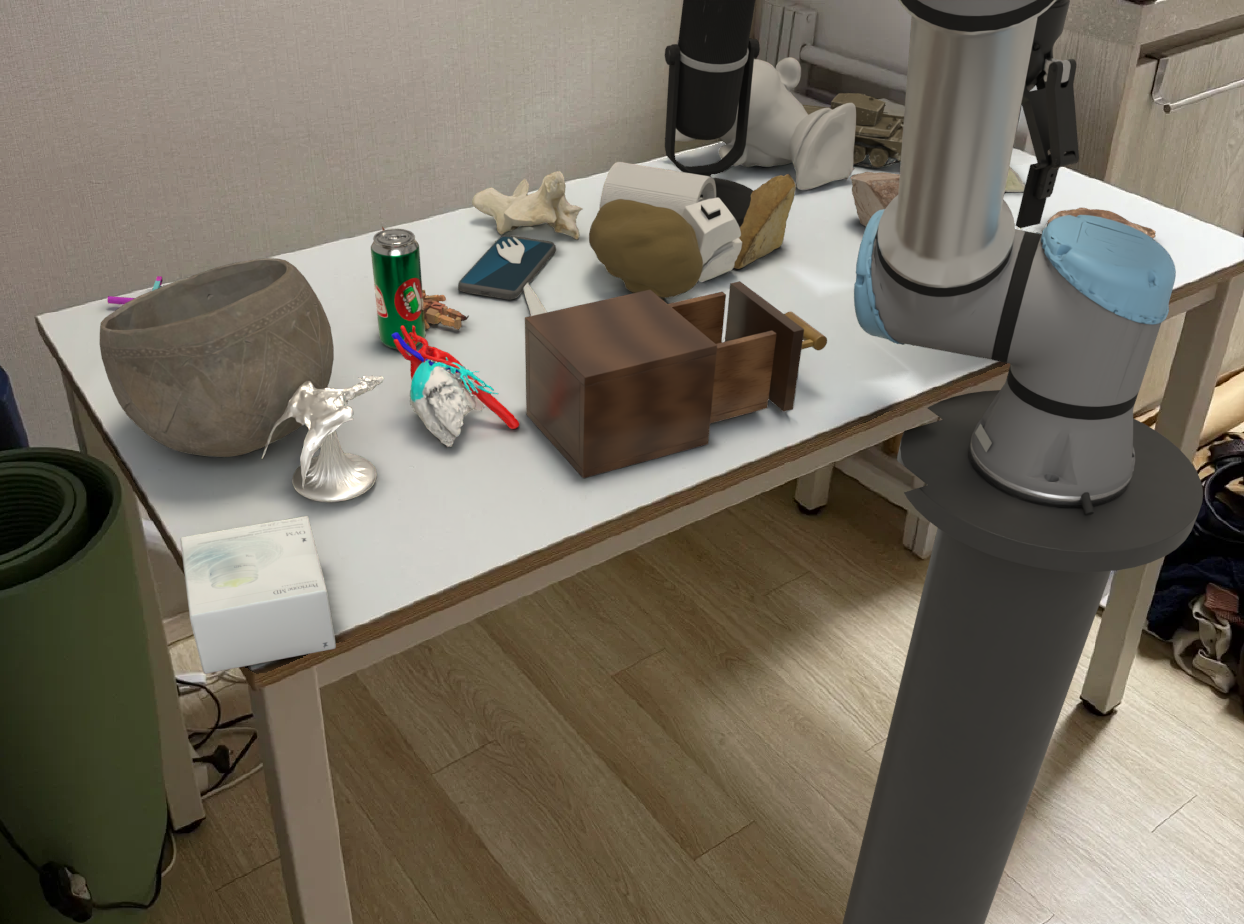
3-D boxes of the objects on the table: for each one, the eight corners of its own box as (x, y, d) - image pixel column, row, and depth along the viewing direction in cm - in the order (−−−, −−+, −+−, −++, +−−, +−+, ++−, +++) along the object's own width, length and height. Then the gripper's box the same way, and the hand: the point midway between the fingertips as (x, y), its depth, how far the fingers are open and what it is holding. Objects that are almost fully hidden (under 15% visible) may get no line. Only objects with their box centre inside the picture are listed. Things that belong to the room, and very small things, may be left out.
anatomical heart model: (463, 479, 132) (352, 380, 128) (513, 421, 133) (404, 321, 129) (489, 471, 119) (367, 361, 116) (543, 407, 120) (424, 296, 117)
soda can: (380, 330, 142) (370, 227, 134) (425, 329, 142) (418, 225, 134) (379, 352, 138) (368, 247, 130) (426, 351, 138) (418, 246, 130)
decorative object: (609, 215, 156) (592, 139, 157) (513, 219, 151) (496, 141, 152) (573, 260, 167) (557, 189, 168) (483, 265, 163) (467, 192, 164)
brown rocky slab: (1129, 269, 155) (1138, 241, 153) (1029, 243, 161) (1036, 216, 159) (1158, 238, 162) (1167, 211, 160) (1061, 214, 168) (1068, 187, 166)
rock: (744, 264, 150) (816, 238, 153) (720, 193, 149) (792, 169, 152) (710, 284, 161) (777, 260, 163) (687, 218, 160) (755, 195, 162)
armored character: (449, 349, 141) (375, 324, 144) (477, 320, 145) (405, 296, 148) (444, 253, 132) (366, 228, 135) (475, 225, 136) (398, 202, 139)
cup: (593, 212, 154) (687, 228, 151) (617, 146, 156) (710, 161, 152) (609, 250, 163) (698, 267, 159) (631, 188, 164) (719, 203, 161)
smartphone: (558, 249, 158) (558, 242, 158) (515, 301, 147) (515, 294, 147) (501, 240, 160) (501, 233, 160) (455, 291, 149) (454, 284, 149)
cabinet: (645, 384, 133) (650, 289, 126) (708, 444, 125) (717, 345, 118) (526, 414, 129) (524, 316, 122) (583, 478, 120) (584, 377, 113)
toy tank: (779, 130, 192) (786, 60, 186) (929, 151, 184) (941, 79, 178) (758, 151, 185) (765, 80, 179) (913, 174, 177) (925, 101, 171)
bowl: (261, 485, 110) (195, 319, 104) (105, 487, 122) (36, 338, 115) (398, 390, 125) (348, 240, 118) (248, 400, 136) (194, 263, 129)
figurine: (263, 488, 118) (247, 398, 112) (367, 440, 124) (357, 353, 118) (311, 524, 114) (297, 433, 108) (417, 473, 120) (409, 384, 114)
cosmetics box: (307, 510, 104) (328, 590, 97) (317, 571, 109) (338, 651, 101) (177, 533, 102) (188, 617, 95) (192, 594, 106) (204, 679, 99)
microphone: (734, 180, 176) (756, -60, 156) (778, 225, 164) (808, -28, 145) (625, 191, 173) (634, -53, 153) (663, 238, 161) (677, -19, 142)
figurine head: (881, 139, 181) (734, 51, 184) (896, 91, 167) (737, -2, 170) (810, 243, 180) (664, 153, 184) (819, 203, 167) (661, 108, 170)
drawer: (773, 348, 138) (783, 271, 132) (836, 397, 130) (849, 318, 124) (628, 384, 132) (631, 305, 126) (685, 438, 124) (691, 356, 118)
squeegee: (91, 343, 138) (139, 346, 139) (90, 336, 138) (138, 340, 139) (118, 278, 150) (162, 281, 151) (118, 272, 149) (162, 275, 150)
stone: (823, 221, 167) (840, 193, 157) (858, 165, 167) (877, 133, 157) (920, 280, 166) (943, 256, 156) (955, 225, 167) (980, 197, 157)
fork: (559, 323, 142) (561, 337, 143) (514, 223, 159) (516, 236, 160) (531, 330, 141) (533, 344, 143) (489, 229, 158) (491, 242, 160)
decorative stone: (549, 242, 150) (591, 164, 148) (610, 277, 158) (651, 204, 156) (633, 294, 139) (680, 211, 137) (694, 329, 147) (739, 251, 145)
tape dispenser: (677, 266, 155) (671, 202, 147) (726, 246, 156) (723, 181, 148) (698, 297, 152) (694, 233, 144) (748, 276, 153) (746, 211, 144)
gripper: (1156, 20, 118) (1093, 238, 131) (977, -43, 135) (939, 156, 148) (1094, 30, 115) (1037, 252, 129) (921, -35, 132) (886, 167, 146)
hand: (984, 201), depth 139 cm, fingers open, 13 cm apart
